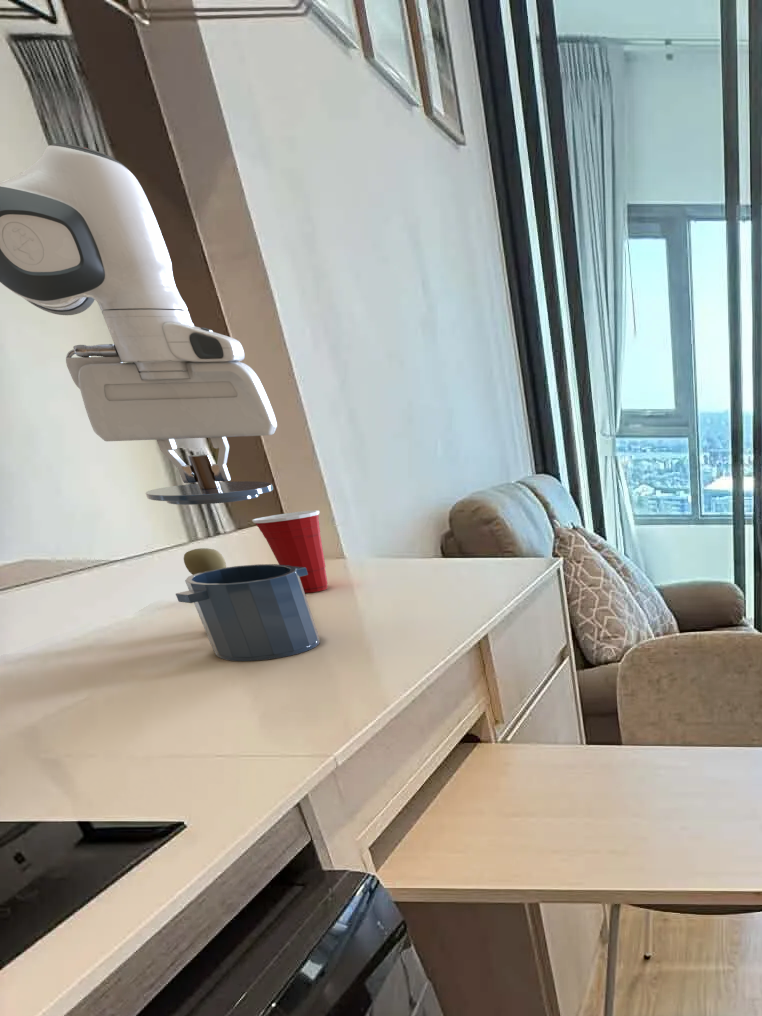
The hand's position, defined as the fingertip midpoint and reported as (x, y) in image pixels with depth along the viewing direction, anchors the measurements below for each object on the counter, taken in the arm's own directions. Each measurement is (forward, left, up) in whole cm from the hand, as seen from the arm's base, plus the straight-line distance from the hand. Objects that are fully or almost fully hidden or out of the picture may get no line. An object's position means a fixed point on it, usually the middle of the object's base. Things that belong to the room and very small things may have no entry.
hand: (207, 481), depth 108 cm
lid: (0, 0, -1) cm, 1 cm away
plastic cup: (-26, +31, -20) cm, 45 cm away
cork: (-14, +5, -20) cm, 25 cm away
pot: (0, 0, -20) cm, 20 cm away
